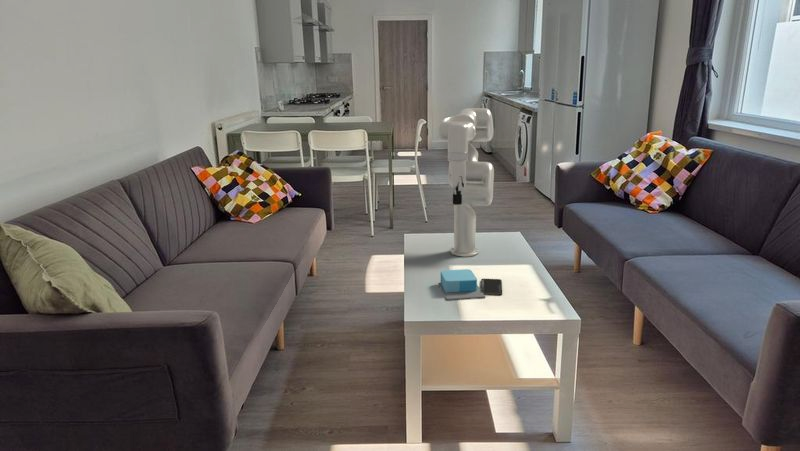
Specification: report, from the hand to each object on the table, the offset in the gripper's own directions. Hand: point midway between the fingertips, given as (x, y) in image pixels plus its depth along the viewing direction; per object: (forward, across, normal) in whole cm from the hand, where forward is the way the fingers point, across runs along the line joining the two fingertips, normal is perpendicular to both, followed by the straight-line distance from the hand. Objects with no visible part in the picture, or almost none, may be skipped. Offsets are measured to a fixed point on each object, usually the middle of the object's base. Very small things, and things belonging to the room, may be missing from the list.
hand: (457, 204), depth 211 cm
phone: (+30, +16, +10) cm, 35 cm away
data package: (+26, +8, -2) cm, 27 cm away
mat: (+29, +17, -2) cm, 34 cm away
